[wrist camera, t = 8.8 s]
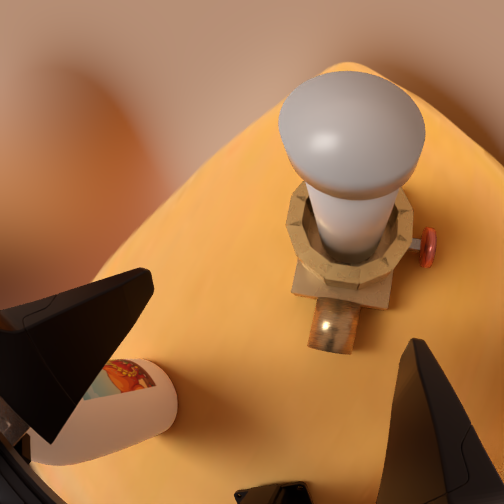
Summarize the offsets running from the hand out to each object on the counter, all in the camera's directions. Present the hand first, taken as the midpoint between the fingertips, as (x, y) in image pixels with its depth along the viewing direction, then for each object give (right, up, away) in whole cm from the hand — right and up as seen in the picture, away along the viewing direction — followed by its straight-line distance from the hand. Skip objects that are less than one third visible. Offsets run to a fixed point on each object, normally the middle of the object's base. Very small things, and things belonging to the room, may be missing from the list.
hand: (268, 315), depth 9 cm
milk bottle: (-10, -12, +15) cm, 22 cm away
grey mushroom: (+7, +3, +11) cm, 14 cm away
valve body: (+8, +1, +13) cm, 15 cm away
